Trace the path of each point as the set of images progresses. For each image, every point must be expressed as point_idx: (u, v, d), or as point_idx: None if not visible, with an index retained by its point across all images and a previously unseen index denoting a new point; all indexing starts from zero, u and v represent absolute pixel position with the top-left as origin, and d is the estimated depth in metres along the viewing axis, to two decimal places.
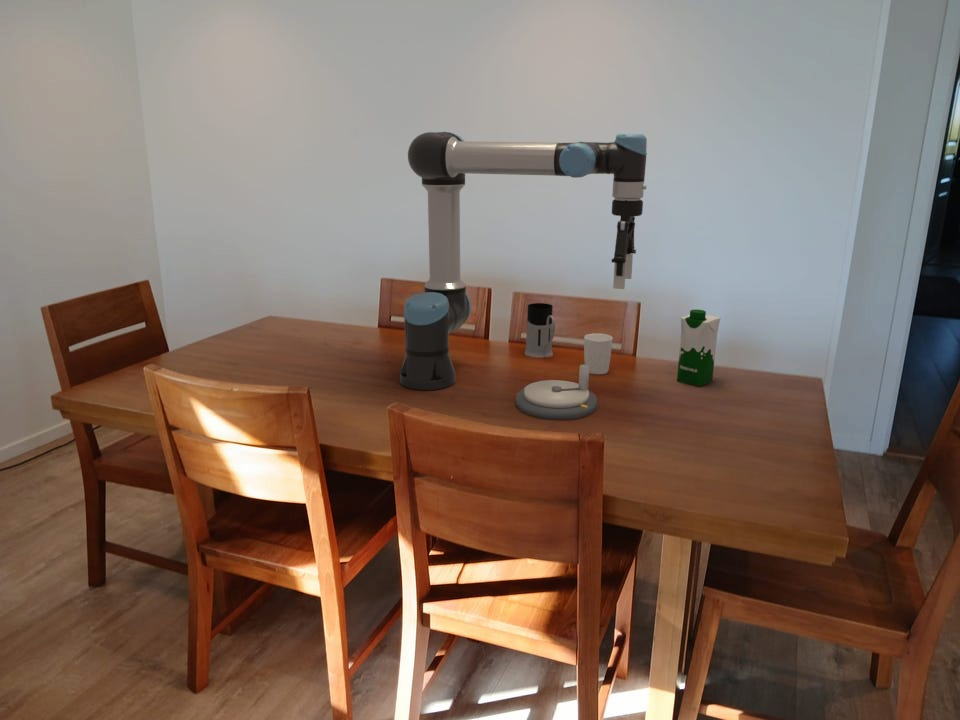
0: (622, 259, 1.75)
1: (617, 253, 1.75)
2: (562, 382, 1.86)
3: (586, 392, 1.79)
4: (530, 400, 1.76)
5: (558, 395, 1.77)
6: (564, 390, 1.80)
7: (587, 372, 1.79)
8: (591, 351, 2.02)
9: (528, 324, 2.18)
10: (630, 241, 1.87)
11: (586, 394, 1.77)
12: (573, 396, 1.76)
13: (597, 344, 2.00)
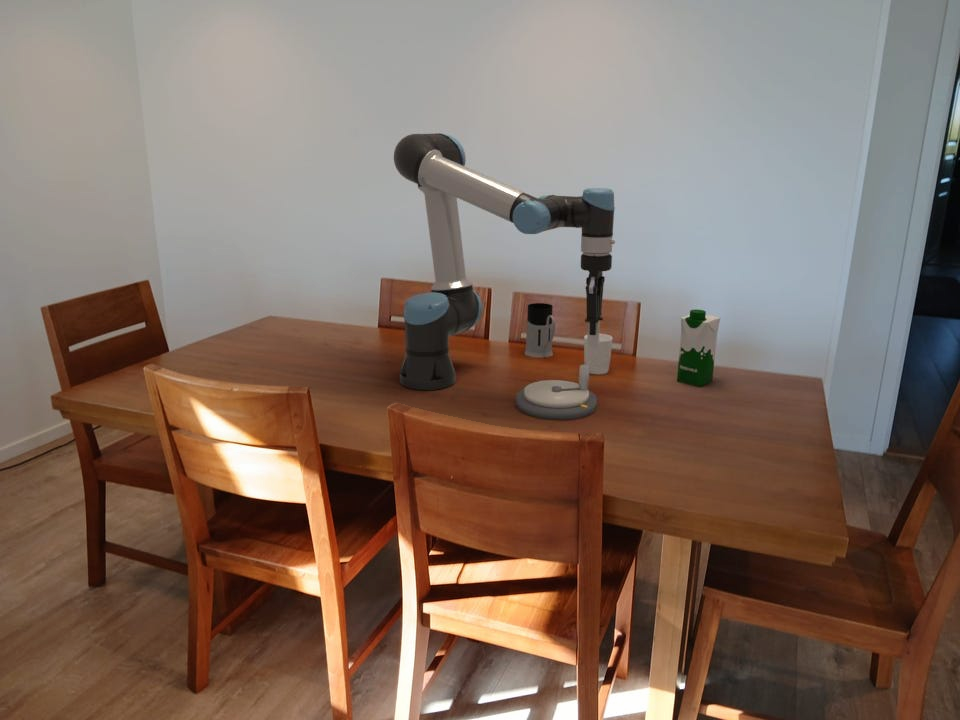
0: (594, 321, 1.79)
1: (589, 315, 1.78)
2: (562, 382, 1.86)
3: (586, 392, 1.79)
4: (530, 400, 1.76)
5: (558, 395, 1.77)
6: (564, 390, 1.80)
7: (587, 372, 1.79)
8: (591, 351, 2.02)
9: (528, 324, 2.18)
10: None
11: (586, 394, 1.77)
12: (573, 396, 1.76)
13: None
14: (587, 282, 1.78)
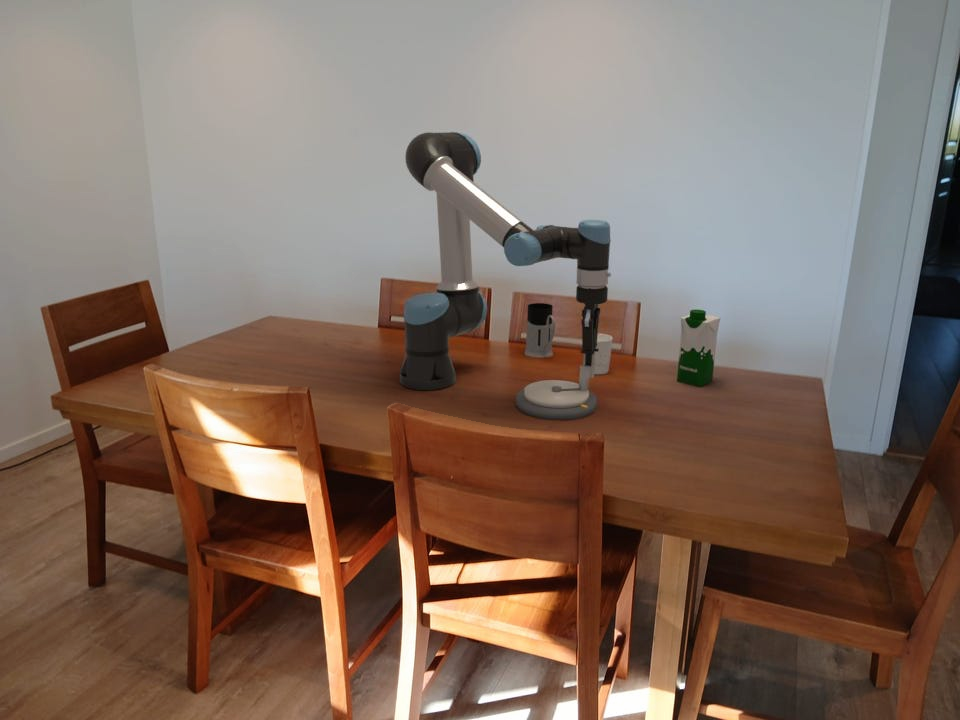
0: (590, 353, 1.77)
1: (585, 347, 1.77)
2: (563, 382, 1.86)
3: (586, 393, 1.78)
4: (529, 400, 1.76)
5: (557, 395, 1.77)
6: (564, 390, 1.80)
7: (587, 372, 1.79)
8: None
9: (528, 324, 2.18)
10: None
11: (586, 394, 1.77)
12: (572, 396, 1.76)
13: (597, 344, 2.00)
14: (583, 314, 1.77)
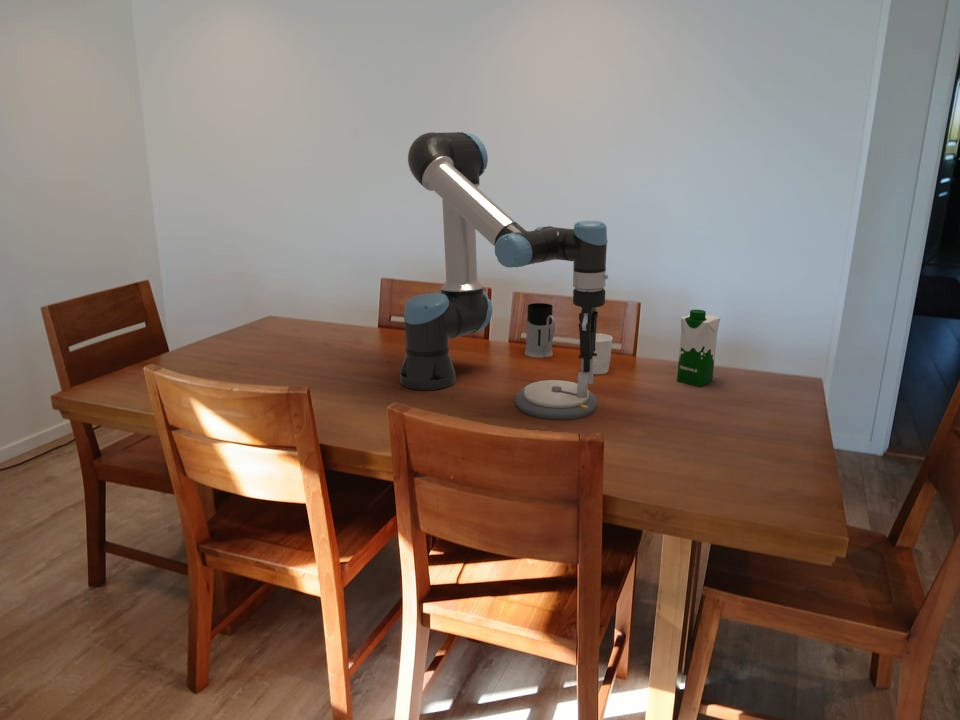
0: (588, 358, 1.72)
1: (583, 352, 1.72)
2: None
3: (575, 399, 1.74)
4: None
5: (547, 394, 1.78)
6: (562, 392, 1.79)
7: (582, 379, 1.74)
8: None
9: (528, 324, 2.18)
10: None
11: (572, 400, 1.73)
12: (558, 398, 1.75)
13: (597, 344, 2.00)
14: (580, 318, 1.72)
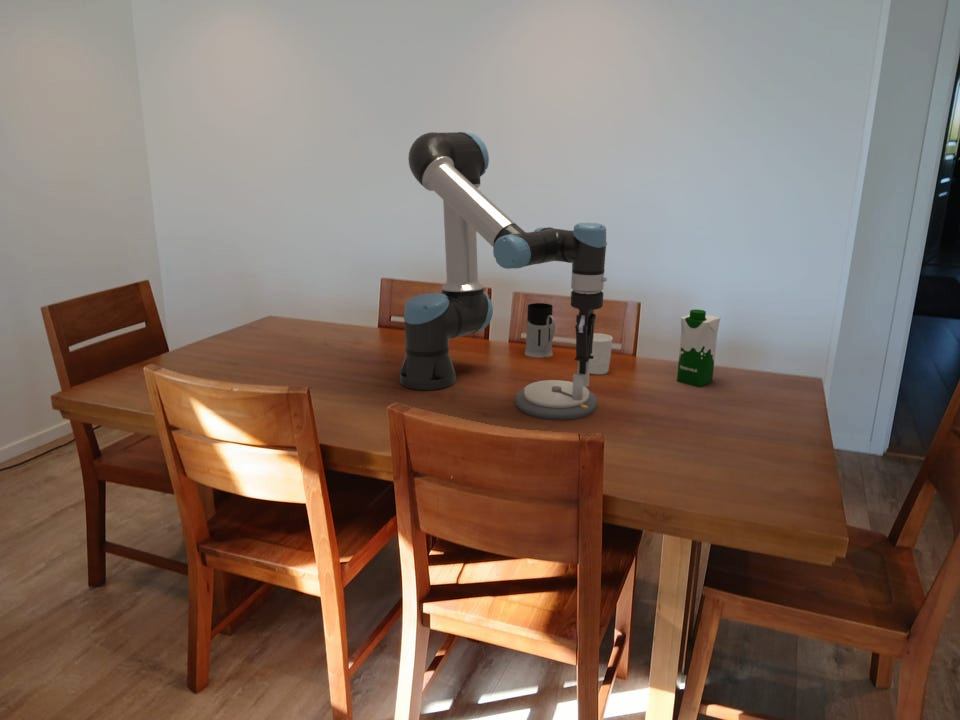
0: (584, 360, 1.72)
1: (579, 354, 1.71)
2: (582, 389, 1.81)
3: (568, 400, 1.73)
4: None
5: (544, 393, 1.78)
6: (560, 392, 1.78)
7: (576, 381, 1.72)
8: None
9: (528, 324, 2.18)
10: None
11: (563, 401, 1.73)
12: (551, 397, 1.75)
13: (597, 344, 2.00)
14: (577, 320, 1.71)
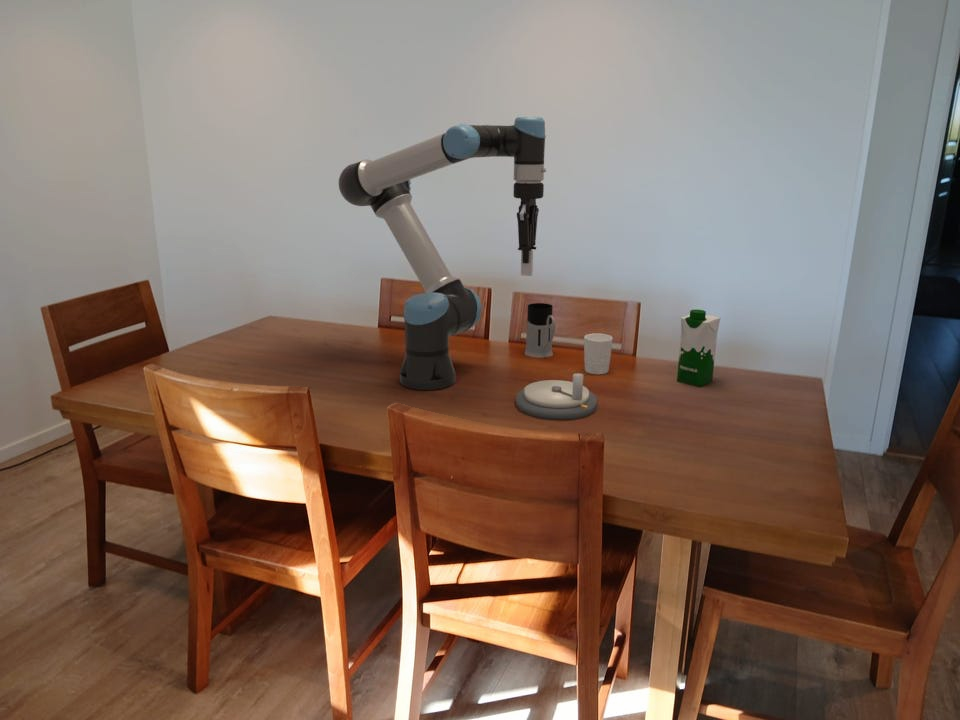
0: (526, 248, 1.83)
1: (521, 242, 1.82)
2: (582, 389, 1.81)
3: (568, 400, 1.73)
4: None
5: (544, 393, 1.78)
6: (560, 392, 1.78)
7: (576, 381, 1.72)
8: (591, 351, 2.02)
9: (528, 324, 2.18)
10: None
11: (563, 401, 1.73)
12: (551, 397, 1.75)
13: (597, 344, 2.00)
14: (519, 210, 1.82)
